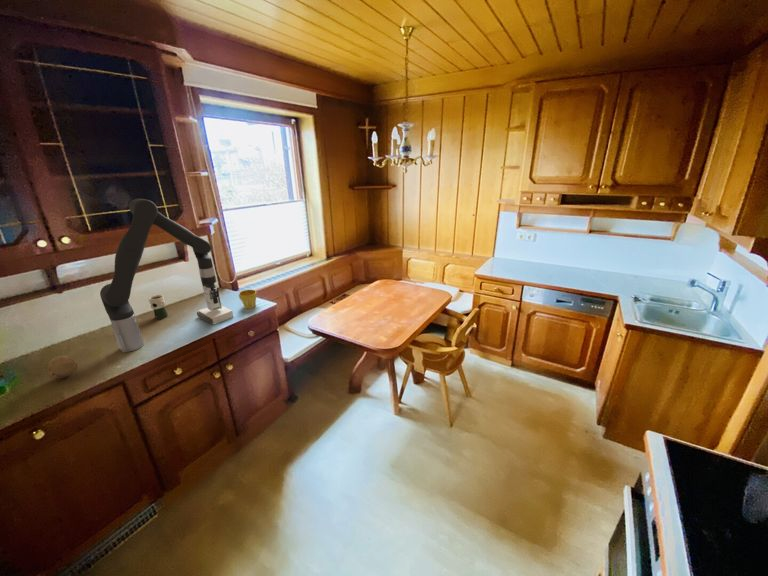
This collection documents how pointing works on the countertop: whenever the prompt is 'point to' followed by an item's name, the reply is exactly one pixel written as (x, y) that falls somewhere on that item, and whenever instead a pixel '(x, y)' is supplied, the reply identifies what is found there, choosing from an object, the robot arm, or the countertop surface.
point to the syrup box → (211, 299)
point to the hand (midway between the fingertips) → (213, 301)
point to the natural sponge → (61, 367)
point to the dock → (215, 315)
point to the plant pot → (248, 298)
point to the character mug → (158, 306)
